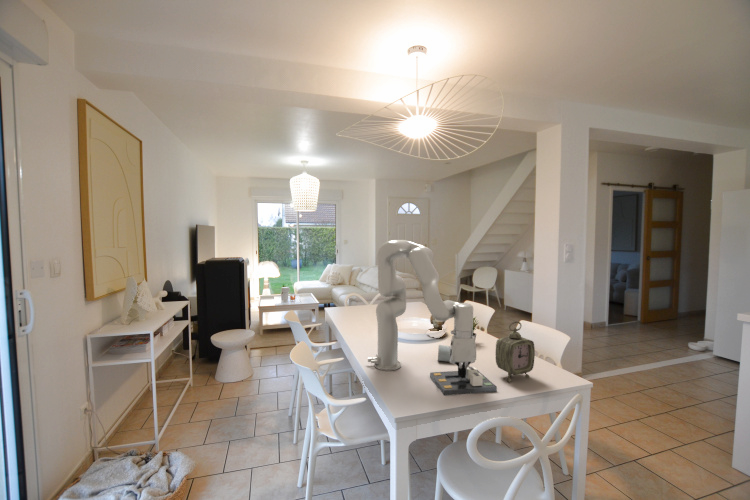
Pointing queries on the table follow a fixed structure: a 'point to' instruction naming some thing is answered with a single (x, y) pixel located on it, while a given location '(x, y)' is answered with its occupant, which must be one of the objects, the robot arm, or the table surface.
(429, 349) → the table surface
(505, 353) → the tabletop clock
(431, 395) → the table surface
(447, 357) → the ceramic mug
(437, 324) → the owl figurine
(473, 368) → the block
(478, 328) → the house plant
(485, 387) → the board
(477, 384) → the near toggle
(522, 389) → the table surface
